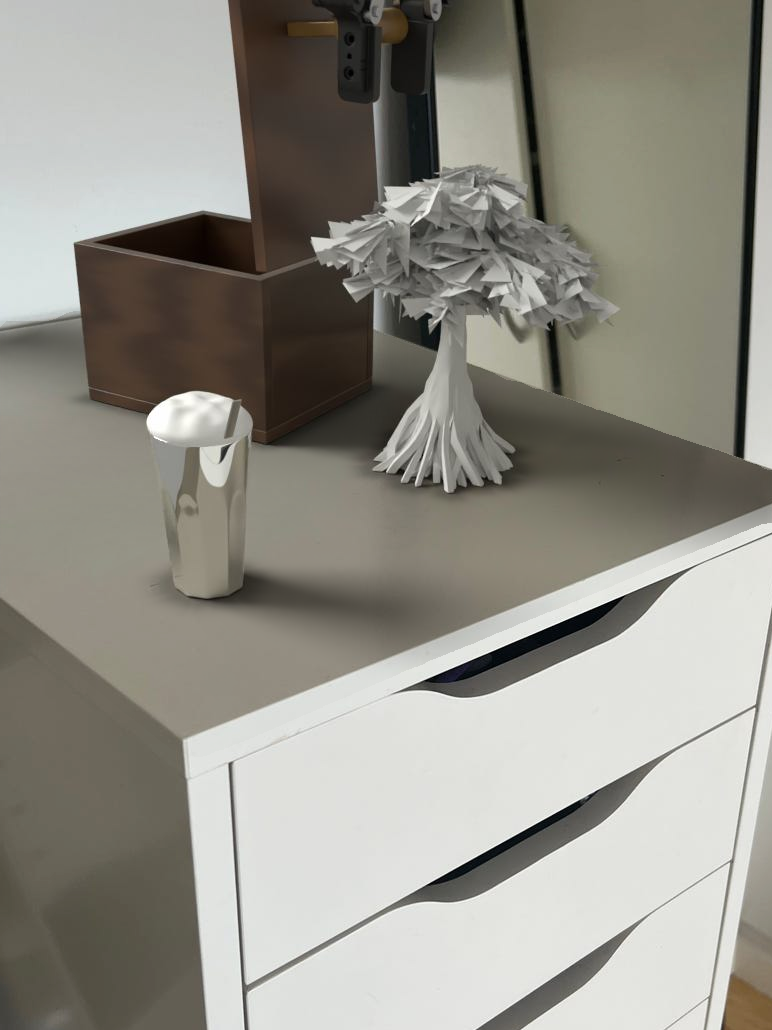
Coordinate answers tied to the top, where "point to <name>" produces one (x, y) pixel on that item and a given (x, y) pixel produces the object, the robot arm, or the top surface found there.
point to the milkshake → (203, 488)
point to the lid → (300, 126)
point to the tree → (460, 300)
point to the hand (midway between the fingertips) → (384, 95)
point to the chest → (219, 323)
